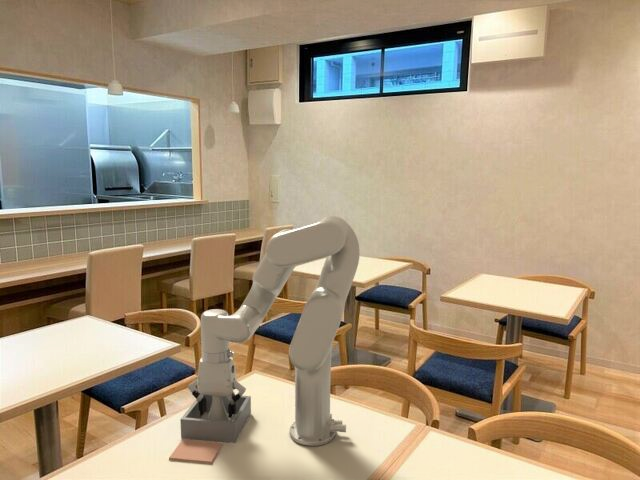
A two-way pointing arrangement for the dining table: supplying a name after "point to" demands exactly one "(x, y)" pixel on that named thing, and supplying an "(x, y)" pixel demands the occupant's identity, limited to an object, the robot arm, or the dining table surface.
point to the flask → (218, 409)
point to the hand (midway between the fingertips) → (217, 413)
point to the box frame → (215, 422)
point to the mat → (196, 451)
